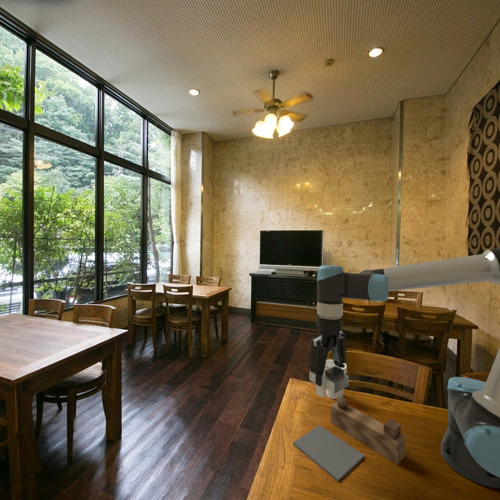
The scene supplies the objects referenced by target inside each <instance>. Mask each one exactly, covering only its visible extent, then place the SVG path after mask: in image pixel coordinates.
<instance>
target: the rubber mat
mask: <svg viewBox="0 0 500 500" xmlns="http://www.w3.org/2000/svg"><path fill="white" fill-rule="evenodd" d="M292 445H293V446H294V447H296V448H297V449H298V450H299V451H300V452H302V454H304V455H305V456H307V458H309V459H310V460H311V461H312V462H314V463H315V465H317V466H319V467H320V468H321V469H322V470H323V471H325V472H326V473H327V474H328V475H329V476H331V478H333V479H334V480H335V481H337V482H338V481H339V482H340V481H341V480H342V479H343V478H344V477H345V476H347V474H349V473H350V472H351V471H352V470H353V469H354V468H355V467H356V466H357V465H358V464H359V463H360V462H361V461H362V460H364V458H365V454H363V453H362V452H360V451H359V450H357V449H355V448H354V447H352V446H351V445H350V444H349V443H347V442H345V441H344V440H342V439H341V438H339V437H338V436H336V435H335V434H333V433H332V432H331V431H329V430H327V429H326V428H324V427H323V426H321V425H320V424H319V425H317V426H316V427H315V428H312V430H310V431H308V432H306V433H305V434H304V435H302V436H301V437H299V438H297V439H295V440H294V441H293V442H292ZM342 477H343V478H342ZM341 478H342V479H341ZM340 479H341V480H340Z"/></svg>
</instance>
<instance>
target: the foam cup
mask: <svg viewBox="0 0 500 500" xmlns="http://www.w3.org/2000/svg"><path fill="white" fill-rule="evenodd" d="M343 364H344V365H345V367H344V368H342V367H341V369H342V370H344V374H346V375H347V373H348V371H347V369H348V368H347V366H348V365H347V364H346V363H343ZM325 365H326V366H328V367H330V368H332V365H335V364H334V361H333V359H327V360H326V364H325ZM344 391H345V388H344V389H342V390H340V391H338V392H336V393H332V392H331V391H329V390H327V389H325V393H326V396H327V395H328V396H327V397H328V398H329V397H330V398H329V399H331V398H332V399H331V400H333V399H338V398H339V397H343V398H344Z"/></svg>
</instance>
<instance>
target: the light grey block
mask: <svg viewBox="0 0 500 500" xmlns="http://www.w3.org/2000/svg"><path fill="white" fill-rule="evenodd" d="M323 374H324V375H325V390H326V389H327V390H329V391H331V392H332V393H336V392H338V391H340V390H342V389H344V390H345V388H347V387H349V383H350V382H349V380H350V378H349V375H348V374H347V373H346V374H344V370H342V369H340V368H338V367H336V366H335V367H332V368H330V367H328V366H326V365H325V369H324V373H323ZM315 376H316V375H315V374H314V373H312V372H310V371H309V381H310V382H312V383H314V384H316V383H315V380H316V379H315Z"/></svg>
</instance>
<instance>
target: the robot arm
mask: <svg viewBox="0 0 500 500" xmlns="http://www.w3.org/2000/svg"><path fill="white" fill-rule="evenodd" d="M484 282H491V283H493V284H494V285H500V247H496V248H492V249H491V248H490V249H485V251H483V252H482V253H481V254H474V255H467V256H460V257H453V258H447V259H446V258H445V259H438V260H431V261H425V262H424V261H423V262H417V263H411V264H404V265H397V266H396V265H395V266H390V267H384V268H377V269H365V270H362V271H360V272H359V273H357V272H355V273H354V272H353V273H352V272H345V271H344V267H343V266H341V265H335V264H334V265H333V264H326V265H325V264H324V265H320V266H319V267H318V268H317V278H316V290H317V291H316V292H317V293H316V302H317V304H316V314H317V316H316V328H317V329H318V337H316V338H314V337H312V338H311V345H312V348H311V358H310V370H309V373H310V372H312V373H314V374H315V375H316V376H315V379H316V380H315V383H314V384H315V387H316V388H315V394H316V395H318V396H319V397H321V398H322V399H324V398H326V389H325V375H324V374H323V373H324V369H325V364H326V360H328V355H329V353H330V352H331V357H332V360H333V361H334V364H335V365H332V367H335V366H336V367H338V368H340V369H341V367H342V368H344V367H345V365H344V364H343V363H345V364H346V363H347V354H346V352H347V351H346V335H347V333H346V332H344V331H343V326H344V325H343V324H344V323H343V320H344V319H343V315H344V301H343V299H353V300H363V301H371V302H387V301H388V299H389V292H395V291H404V290H405V291H407V290H414V289H416V290H417V289H425V288H433V287H436V288H437V287H444V286H455V285H465V284H475V283H476V284H477V283H484ZM446 388H447V408H448V409H447V411H448V412H447V414H448V415H447V417H448V418H447V423H448V424H447V426H448V427H447V429H446V431H445V433H444V436H443V437H442V440H441V442H440V454H441V457H442V458H443V459H444V461H445V462H446V463H447V464H448V465H449V466H450V467H451V468H452V469H453V470H454V471H456V473H458V474H460V475H462V476H463V477H464V478H466V479H468V480H470V481H471V482H474V483H476V484H478V485H481V486H484V487H488V488H492V489H496V490H497V489H498V490H499V489H500V347H499V348H498V351H497V354H496V357H495V358H494V362H493V365H492V366H491V369H490V372H489V374H488V377H487V379H486V381H482V380H478V379H474V378H470V377H463V376H462V377H461V376H453V377H450V378H449V379H448V384H447V387H446Z"/></svg>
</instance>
